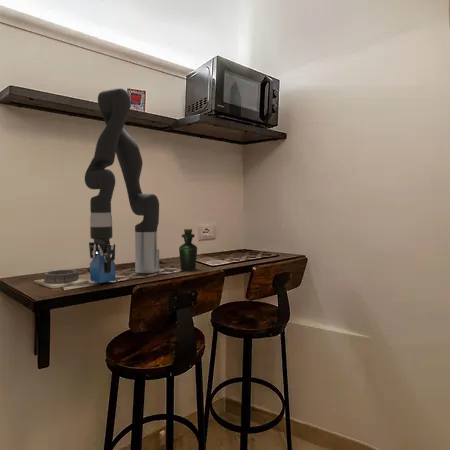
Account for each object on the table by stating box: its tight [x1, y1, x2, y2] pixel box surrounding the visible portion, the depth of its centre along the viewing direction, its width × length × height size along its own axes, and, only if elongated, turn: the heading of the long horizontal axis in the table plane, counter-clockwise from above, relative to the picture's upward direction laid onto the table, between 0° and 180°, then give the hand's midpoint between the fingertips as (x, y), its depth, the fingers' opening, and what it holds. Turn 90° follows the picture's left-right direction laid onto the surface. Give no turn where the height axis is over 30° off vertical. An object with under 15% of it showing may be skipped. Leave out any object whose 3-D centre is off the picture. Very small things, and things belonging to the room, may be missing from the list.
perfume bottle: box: [89, 249, 116, 284], centre depth 129 cm, size 6×6×12 cm
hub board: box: [33, 269, 90, 289], centre depth 130 cm, size 13×15×4 cm
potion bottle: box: [178, 228, 198, 272], centre depth 158 cm, size 8×8×18 cm
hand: (102, 271), depth 129 cm, fingers closed on perfume bottle, 6 cm apart
